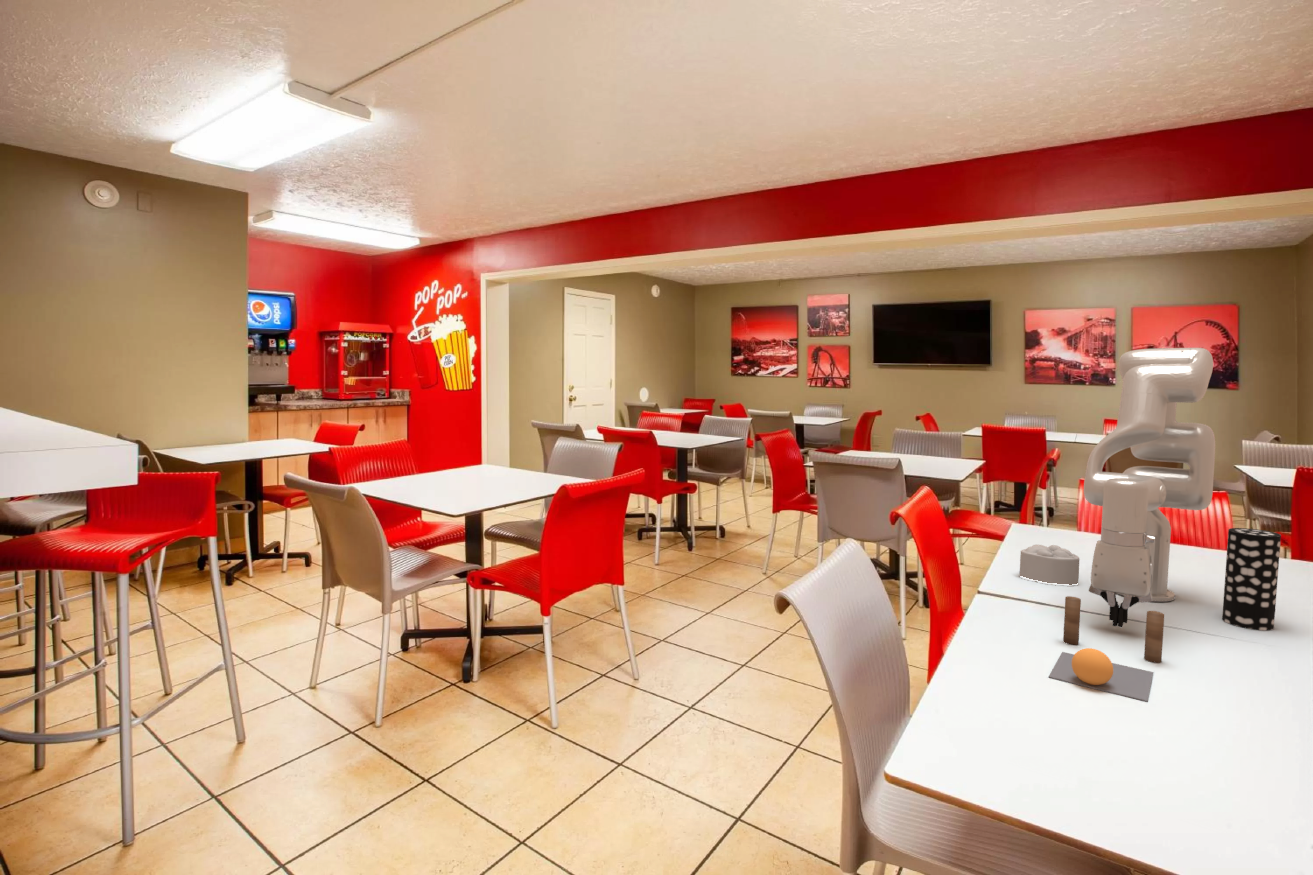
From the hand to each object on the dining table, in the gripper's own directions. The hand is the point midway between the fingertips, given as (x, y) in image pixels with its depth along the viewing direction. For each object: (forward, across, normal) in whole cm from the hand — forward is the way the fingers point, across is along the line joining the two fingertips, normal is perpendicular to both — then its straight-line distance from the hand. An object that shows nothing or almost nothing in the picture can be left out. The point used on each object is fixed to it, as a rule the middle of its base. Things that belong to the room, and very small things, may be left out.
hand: (1117, 624), depth 137 cm
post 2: (+2, -6, +13) cm, 15 cm away
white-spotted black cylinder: (+2, -21, -24) cm, 32 cm away
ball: (-2, +1, +32) cm, 32 cm away
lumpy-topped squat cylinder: (+2, +18, -34) cm, 38 cm away
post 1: (+2, +7, +13) cm, 15 cm away
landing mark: (+2, 0, +27) cm, 27 cm away
